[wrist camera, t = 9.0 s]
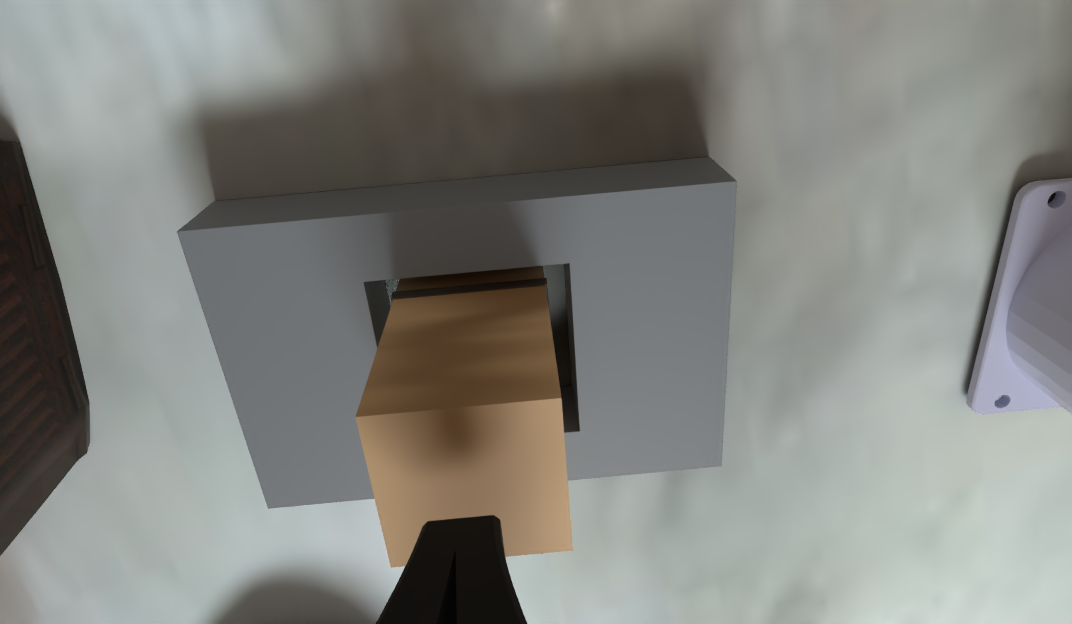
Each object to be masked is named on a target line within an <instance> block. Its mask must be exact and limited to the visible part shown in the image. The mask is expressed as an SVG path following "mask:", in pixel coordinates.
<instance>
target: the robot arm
mask: <svg viewBox="0 0 1072 624" xmlns="http://www.w3.org/2000/svg"><path fill="white" fill-rule="evenodd" d="M1054 192H1056V196H1055V198H1054V200H1052V201H1051V202H1050V203H1048V199H1049V197H1050V196H1051V195H1052V194H1053V193H1054ZM1000 396H1001V398H1000V399H998V400H997V401H996V399H997V398H998V397H1000ZM966 403H967V405H968V407H969V408H970V409H971V410H973V411H974V412H975V413H977V414H983V415H984V414H995V413H1005V412H1016V411H1027V410H1037V409H1048V408H1059V407H1063V408H1064V409H1066V410H1067V411H1068V412H1070V413H1071V414H1072V178H1064V179H1053V180H1042V181H1034V182H1030V183H1028V184H1026V185H1025V186H1023V187H1022V188H1021V189H1020V190H1019V191H1018V193H1017V195H1016V197H1015V199H1014V203H1013V207H1012V212H1011V216H1010V220H1009V224H1008V228H1007V232H1006V237H1005V241H1004V245H1003V249H1002V253H1001V257H1000V261H999V266H998V270H997V274H996V278H995V282H994V286H993V291H992V295H991V299H990V303H989V307H988V311H987V315H986V320H985V324H984V328H983V332H982V336H981V340H980V345H979V349H978V353H977V357H976V361H975V365H974V369H973V374H972V378H971V382H970V386H969V390H968V394H967V399H966ZM376 624H527V622H526V619H525V617H524V615H523V612H522V609H521V606H520V604H519V601H518V598H517V595H516V592H515V590H514V587H513V584H512V581H511V578H510V574H509V571H508V567H507V563H506V558H505V551H504V544H503V536H502V529H501V521H500V519H499V518H498V517H496V516H495V515H487V516H477V517H466V518H455V519H445V520H434V521H427V522H426V523H425V524H424V525H423V526H422V529H421V531H420V534H419V537H418V539H417V542H416V544H415V546H414V549H413V551H412V553H411V555H410V558H409V560H408V562H407V564H406V566H405V568H404V570H403V573H402V575H401V577H400V579H399V581H398V583H397V585H396V587H395V589H394V591H393V592H392V594H391V596H390V598H389V600H388V602H387V604H386V606H385V608H384V610H383V611H382V613H381V615H380V617H379V619H378V621H377V622H376Z"/></svg>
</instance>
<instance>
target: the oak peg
mask: <svg viewBox="0 0 1072 624" xmlns="http://www.w3.org/2000/svg"><path fill="white" fill-rule="evenodd" d="M391 300H392V305H391V308H390V312H389V315H388V318H387V321H386V324H385V327H384V330H383V333H382V336H381V339H380V342H379V345H378V349H377V352H376V355H375V358H374V361H373V364H372V367H371V370H370V373H369V376H368V379H367V383H366V386H365V389H364V392H363V395H362V398H361V401H360V404H359V407H358V410H357V413H356V417H355V418H356V422H357V426H358V431H359V435H360V439H361V443H362V447H363V452H364V456H365V460H366V464H367V468H368V473H369V477H370V481H371V485H372V489H373V494H374V498H375V502H376V506H377V510H378V515H379V519H380V523H381V527H382V531H383V536H384V540H385V544H386V548H387V552H388V557H389V561H390V565H391V567H401V566H406V564H407V562H408V560H409V558H410V555H411V553H412V551H413V549H414V546H415V544H416V542H417V539H418V537H419V534H420V531H421V529H422V526H423V525H424V524H425V523H426V522H427V521H434V520H445V519H455V518H466V517H477V516H487V515H495V516H496V517H498V518H499V519H500V521H501V529H502V536H503V544H504V551H505V557H507V556H518V555H528V554H539V553H549V552H560V551H571V550H573V546H572V532H571V519H570V505H569V492H568V479H567V465H566V452H565V438H564V425H563V411H562V398H561V391H560V384H559V377H558V370H557V363H556V356H555V349H554V342H553V335H552V328H551V321H550V314H549V301H548V288H547V280H546V278H544V273H543V266H533V267H522V268H511V269H500V270H489V271H478V272H467V273H456V274H445V275H434V276H423V277H412V278H401V279H400V281H399V284H398V287H397V290H396V291H395V292H393V294H392V297H391Z"/></svg>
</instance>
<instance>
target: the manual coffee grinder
mask: <svg viewBox="0 0 1072 624" xmlns="http://www.w3.org/2000/svg"><path fill="white" fill-rule="evenodd" d="M89 444H90V410H89V399H88V395H87V390H86V385H85V381H84V376H83V372H82V368H81V363H80V359H79V354H78V350H77V346H76V342H75V338H74V334H73V330H72V326H71V321H70V317H69V313H68V309H67V305H66V301H65V297H64V293H63V289H62V285H61V281H60V277H59V274H58V271H57V267H56V264H55V261H54V257H53V254H52V251H51V247H50V244H49V241H48V237H47V234H46V230H45V227H44V224H43V220H42V217H41V214H40V210H39V207H38V204H37V200H36V197H35V194H34V190H33V187H32V183H31V180H30V177H29V173H28V170H27V167H26V163H25V160H24V157H23V153H22V150H21V147H20V143H16V142H9V141H3V140H0V556H1V554H2V553H3V552H4V551H5V550H6V548H7V547H8V546H9V545H10V543H11V542H12V541H13V540H14V539H15V537H16V536H17V535H18V534H19V532H20V531H21V530H22V529H23V527H24V526H25V525H26V524H27V523H28V521H29V520H30V519H31V518H32V516H33V515H34V514H35V513H36V512H37V510H38V509H39V508H40V507H41V505H42V504H43V503H44V502H45V500H46V499H47V498H48V497H49V495H50V494H51V493H52V492H53V490H54V489H55V488H56V487H57V485H58V484H59V483H60V482H61V480H62V479H63V478H64V477H65V475H66V474H67V473H68V472H69V470H70V469H71V468H72V467H73V465H74V464H75V463H76V462H77V461H78V460H79V459H80V458H81V457H83V456H84V455H85V454H86V453H87V451H88V447H89Z"/></svg>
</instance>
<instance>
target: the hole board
mask: <svg viewBox="0 0 1072 624" xmlns="http://www.w3.org/2000/svg"><path fill="white" fill-rule="evenodd" d="M736 188H737V181H736V180H735V179H734V178H733V177H732V176H730V175H729V174H728V173H727V172H726V171H725V170H724V169H723V168H721V167H720V166H719V165H718V164H717V163H716V162H715V161H714V160H712V159H711V158H710V157H703V158H692V159H681V160H670V161H659V162H647V163H636V164H625V165H614V166H603V167H592V168H581V169H570V170H558V171H547V172H536V173H525V174H514V175H503V176H492V177H481V178H469V179H458V180H447V181H436V182H425V183H414V184H403V185H391V186H380V187H369V188H358V189H347V190H336V191H325V192H314V193H302V194H291V195H280V196H269V197H258V198H247V199H236V200H225V201H214V202H213V203H212V204H210V205H209V206H208V207H207V208H205V209H204V210H203V211H202V212H201V213H199V214H198V215H197V216H196V217H194V218H193V219H192V220H191V221H189V222H188V223H187V224H186V225H185V226H183V227H182V228H181V229H180V230H178V231H177V233H178V236H179V239H180V242H181V245H182V249H183V252H184V255H185V258H186V261H187V264H188V267H189V270H190V273H191V276H192V279H193V282H194V285H195V288H196V291H197V294H198V297H199V300H200V303H201V306H202V309H203V312H204V315H205V318H206V321H207V324H208V327H209V330H210V334H211V337H212V340H213V343H214V346H215V349H216V352H217V355H218V358H219V361H220V364H221V367H222V370H223V373H224V376H225V379H226V382H227V385H228V388H229V391H230V394H231V397H232V400H233V403H234V406H235V409H236V412H237V415H238V419H239V422H240V425H241V428H242V431H243V434H244V437H245V440H246V443H247V446H248V449H249V452H250V455H251V458H252V461H253V464H254V467H255V470H256V473H257V476H258V479H259V482H260V485H261V488H262V491H263V494H264V497H265V501H266V504H267V507H268V508H278V507H289V506H300V505H311V504H321V503H332V502H343V501H353V500H364V499H375V498H374V494H373V489H372V485H371V481H370V477H369V473H368V468H367V464H366V460H365V456H364V452H363V447H362V443H361V439H360V435H359V431H358V426H357V422H356V418H355V417H356V413H357V410H358V407H359V404H360V401H361V398H362V395H363V392H364V389H365V386H366V383H367V379H368V376H369V373H370V370H371V367H372V364H373V361H374V358H375V355H376V352H377V349H378V345H379V342H380V339H381V336H382V333H383V330H384V327H385V324H386V321H387V318H388V315H389V312H390V305H389V299H388V294H387V289H386V284H385V280H390V279H401V278H412V277H423V276H434V275H445V274H456V273H467V272H478V271H489V270H500V269H511V268H522V267H533V266H544V265H555V264H564V271H565V286H566V302H567V317H568V332H569V348H570V363H571V379H572V386H565V387H560V391H561V398H562V411H563V425H564V438H565V452H566V465H567V479H568V480H578V479H589V478H599V477H610V476H621V475H631V474H642V473H653V472H664V471H674V470H685V469H696V468H706V467H717V466H722V449H723V431H724V412H725V393H726V375H727V356H728V337H729V319H730V300H731V281H732V263H733V244H734V225H735V207H736Z"/></svg>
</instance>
